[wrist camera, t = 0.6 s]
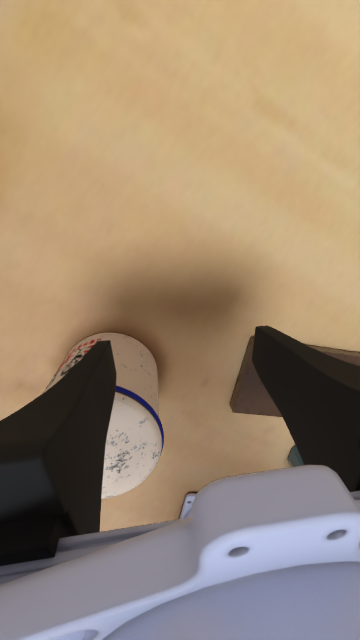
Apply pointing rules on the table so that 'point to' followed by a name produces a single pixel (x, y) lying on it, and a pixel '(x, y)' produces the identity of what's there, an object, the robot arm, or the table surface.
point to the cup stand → (252, 391)
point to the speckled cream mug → (126, 412)
